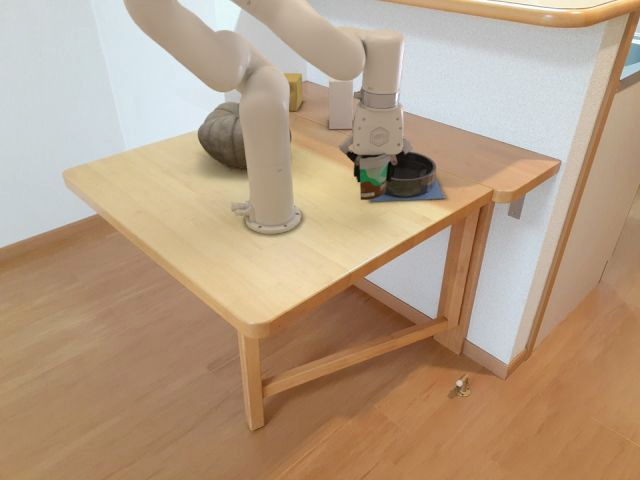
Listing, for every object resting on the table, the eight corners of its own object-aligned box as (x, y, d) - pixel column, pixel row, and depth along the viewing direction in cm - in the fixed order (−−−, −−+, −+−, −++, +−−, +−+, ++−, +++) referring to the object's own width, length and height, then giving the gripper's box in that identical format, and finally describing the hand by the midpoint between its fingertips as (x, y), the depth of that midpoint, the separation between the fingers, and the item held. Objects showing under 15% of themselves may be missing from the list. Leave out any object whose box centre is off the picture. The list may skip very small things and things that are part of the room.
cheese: (268, 110, 173) (265, 81, 167) (275, 99, 182) (273, 71, 176) (298, 112, 172) (296, 82, 166) (304, 100, 180) (303, 72, 175)
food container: (389, 204, 107) (390, 160, 101) (359, 203, 108) (359, 159, 103) (392, 177, 117) (394, 136, 112) (365, 176, 118) (365, 135, 113)
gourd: (210, 180, 127) (205, 109, 120) (191, 157, 147) (186, 95, 140) (304, 171, 136) (304, 104, 129) (274, 150, 157) (272, 91, 150)
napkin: (370, 201, 122) (370, 200, 122) (361, 167, 137) (361, 166, 137) (444, 198, 123) (445, 197, 123) (427, 165, 138) (428, 164, 138)
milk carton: (352, 129, 159) (353, 67, 148) (329, 129, 159) (328, 67, 148) (351, 120, 165) (352, 60, 154) (329, 121, 165) (328, 60, 154)
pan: (373, 200, 123) (374, 181, 120) (364, 169, 137) (365, 151, 134) (440, 197, 124) (443, 179, 121) (425, 166, 137) (427, 149, 134)
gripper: (338, 104, 97) (335, 188, 108) (427, 104, 98) (416, 187, 109) (335, 91, 103) (332, 171, 114) (419, 91, 104) (409, 170, 115)
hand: (373, 178), depth 111 cm, fingers closed on food container, 5 cm apart
